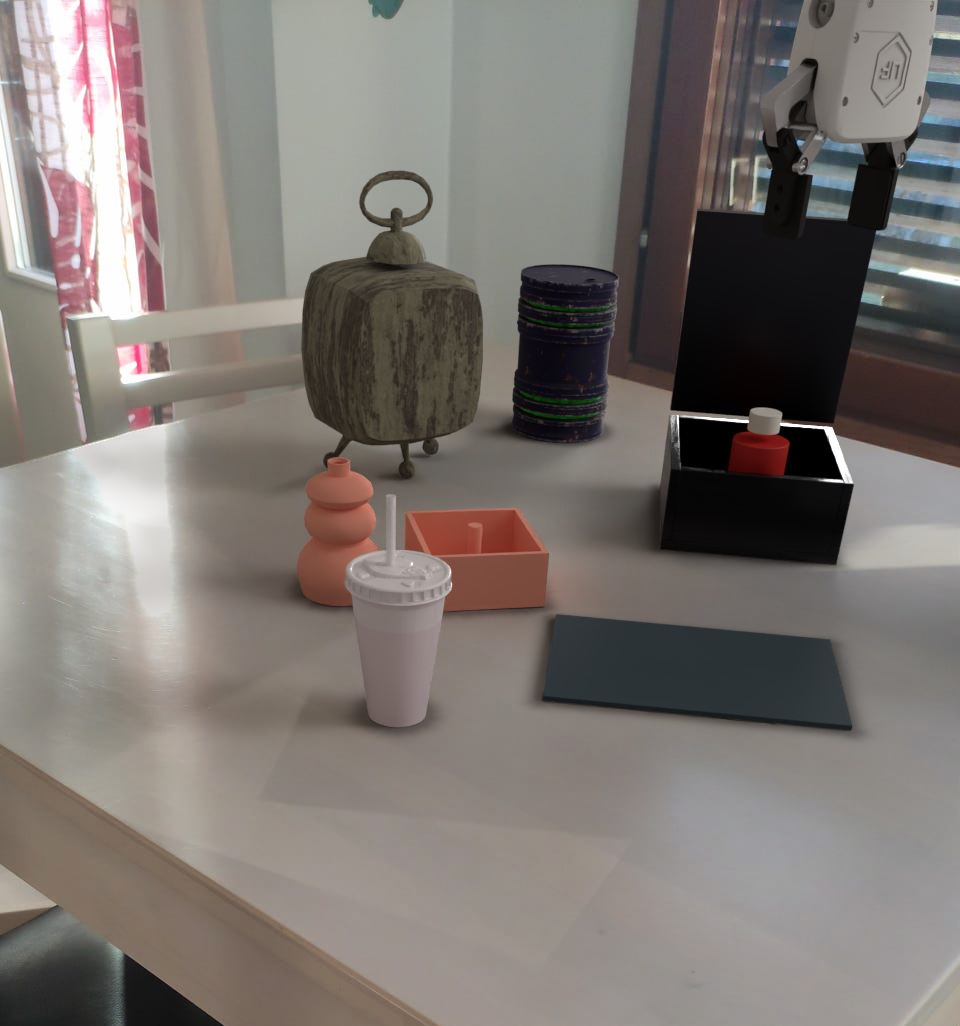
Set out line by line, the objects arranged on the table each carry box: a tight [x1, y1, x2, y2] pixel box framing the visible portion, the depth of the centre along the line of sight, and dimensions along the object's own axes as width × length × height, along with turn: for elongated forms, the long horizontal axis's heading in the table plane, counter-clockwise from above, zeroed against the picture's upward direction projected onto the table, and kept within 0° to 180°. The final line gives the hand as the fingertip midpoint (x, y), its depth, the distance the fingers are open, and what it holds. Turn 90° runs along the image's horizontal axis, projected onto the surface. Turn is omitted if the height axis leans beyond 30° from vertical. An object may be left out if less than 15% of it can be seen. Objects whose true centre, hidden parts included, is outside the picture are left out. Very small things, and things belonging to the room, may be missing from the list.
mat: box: [541, 613, 853, 732], centre depth 87 cm, size 20×13×1 cm, turn 83°
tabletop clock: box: [300, 169, 484, 480], centre depth 111 cm, size 14×9×25 cm, turn 122°
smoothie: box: [345, 493, 452, 728], centre depth 76 cm, size 6×6×14 cm
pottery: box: [296, 456, 550, 612], centre depth 94 cm, size 18×10×10 cm, turn 102°
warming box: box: [659, 413, 855, 565], centre depth 109 cm, size 16×15×7 cm
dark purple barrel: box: [511, 263, 620, 443], centre depth 128 cm, size 10×10×15 cm
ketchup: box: [728, 408, 789, 475], centre depth 105 cm, size 5×5×10 cm
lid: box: [669, 208, 877, 425], centre depth 108 cm, size 16×15×1 cm
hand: (824, 231), depth 90 cm, fingers open, 9 cm apart
